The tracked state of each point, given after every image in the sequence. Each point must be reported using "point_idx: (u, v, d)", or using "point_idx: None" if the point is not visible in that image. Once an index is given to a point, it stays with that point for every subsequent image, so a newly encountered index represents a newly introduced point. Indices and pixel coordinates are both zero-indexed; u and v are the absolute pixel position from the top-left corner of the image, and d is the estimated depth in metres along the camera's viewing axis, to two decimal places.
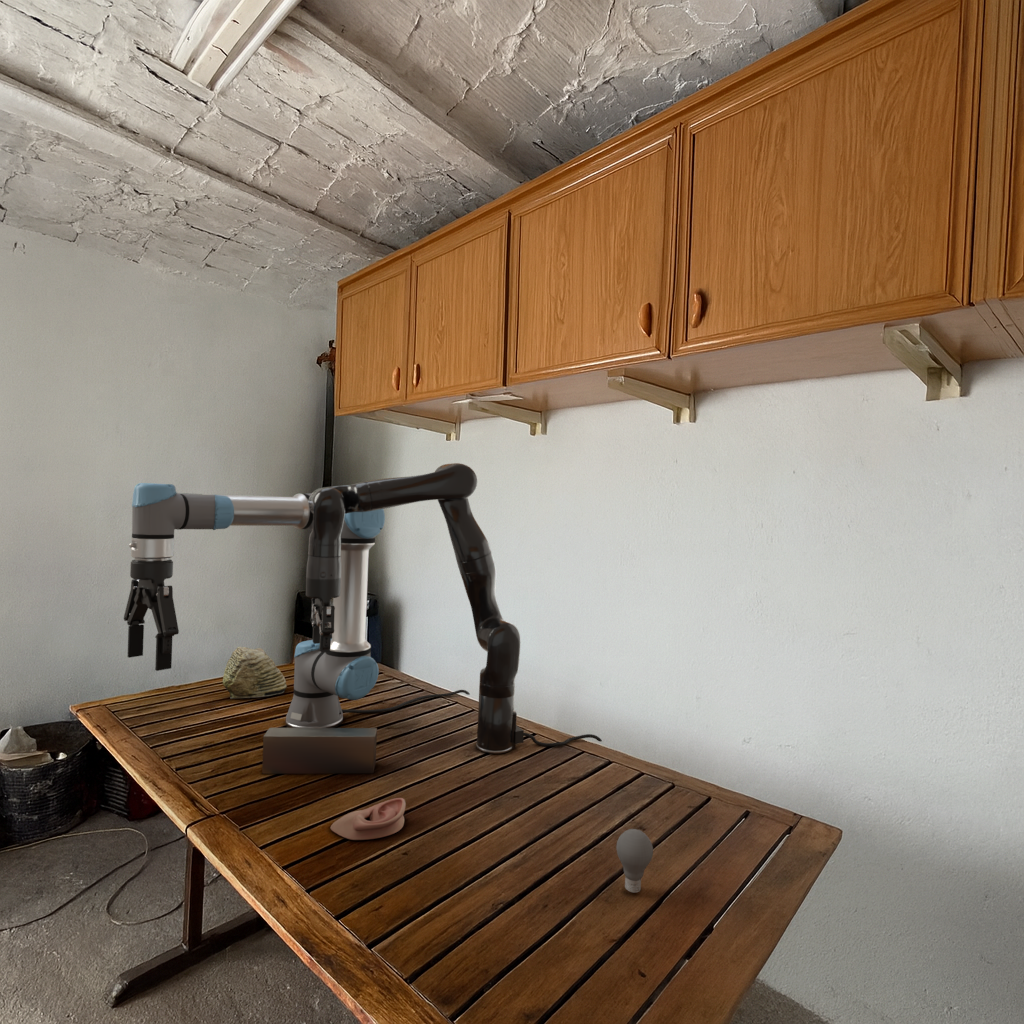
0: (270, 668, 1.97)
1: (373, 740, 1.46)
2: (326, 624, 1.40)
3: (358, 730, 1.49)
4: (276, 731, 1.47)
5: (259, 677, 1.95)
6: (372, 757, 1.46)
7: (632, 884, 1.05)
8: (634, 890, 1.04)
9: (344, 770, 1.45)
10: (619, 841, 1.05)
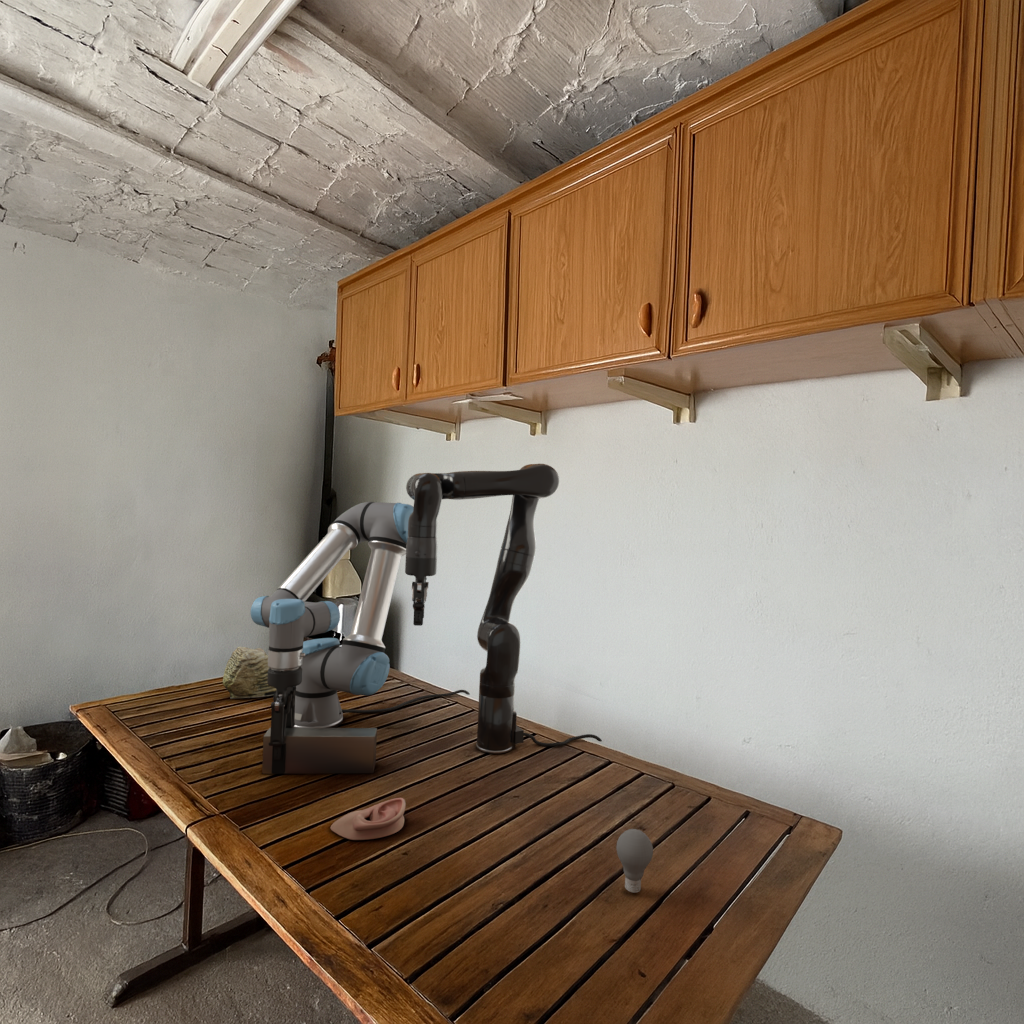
0: None
1: (373, 740, 1.46)
2: (420, 600, 1.50)
3: (358, 730, 1.49)
4: None
5: (259, 677, 1.95)
6: (372, 757, 1.46)
7: (632, 884, 1.05)
8: (634, 890, 1.04)
9: (344, 770, 1.45)
10: (619, 841, 1.05)
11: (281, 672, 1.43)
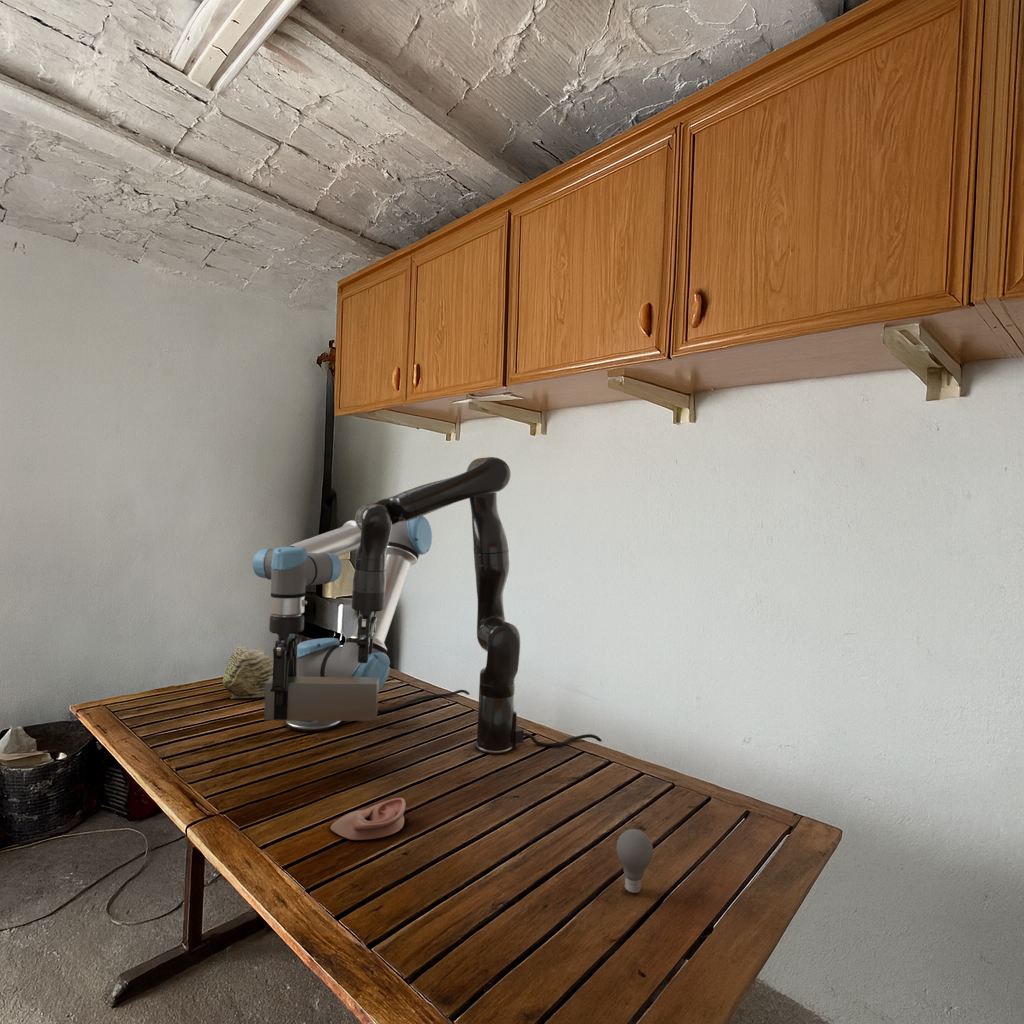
0: (270, 668, 1.97)
1: (375, 688, 1.46)
2: (365, 636, 1.44)
3: (360, 679, 1.49)
4: None
5: (259, 677, 1.95)
6: (374, 705, 1.46)
7: (632, 884, 1.05)
8: (634, 890, 1.04)
9: (346, 717, 1.45)
10: (619, 841, 1.05)
11: (283, 618, 1.43)
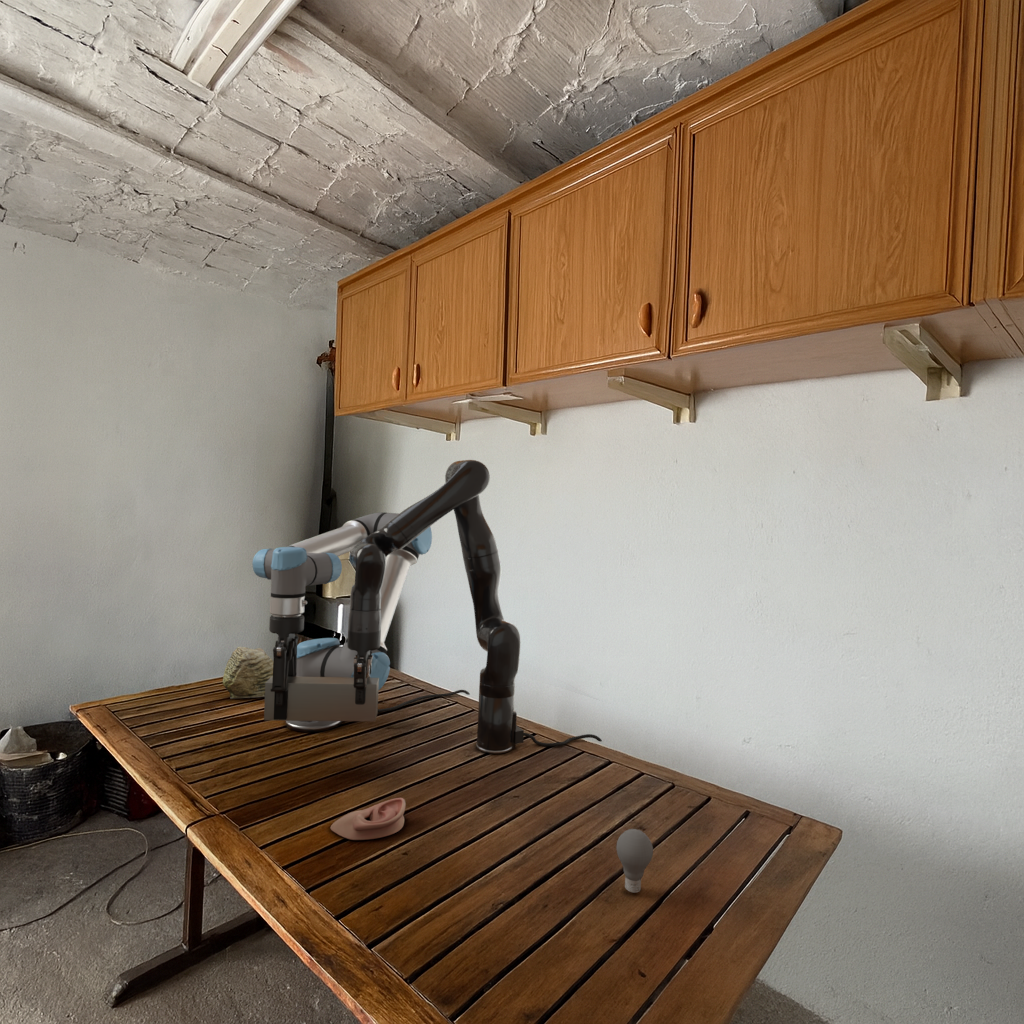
0: (270, 668, 1.97)
1: (375, 688, 1.46)
2: None
3: (359, 679, 1.49)
4: None
5: (259, 677, 1.95)
6: (374, 705, 1.46)
7: (632, 884, 1.05)
8: (634, 890, 1.04)
9: (345, 717, 1.45)
10: (619, 841, 1.05)
11: (283, 618, 1.43)
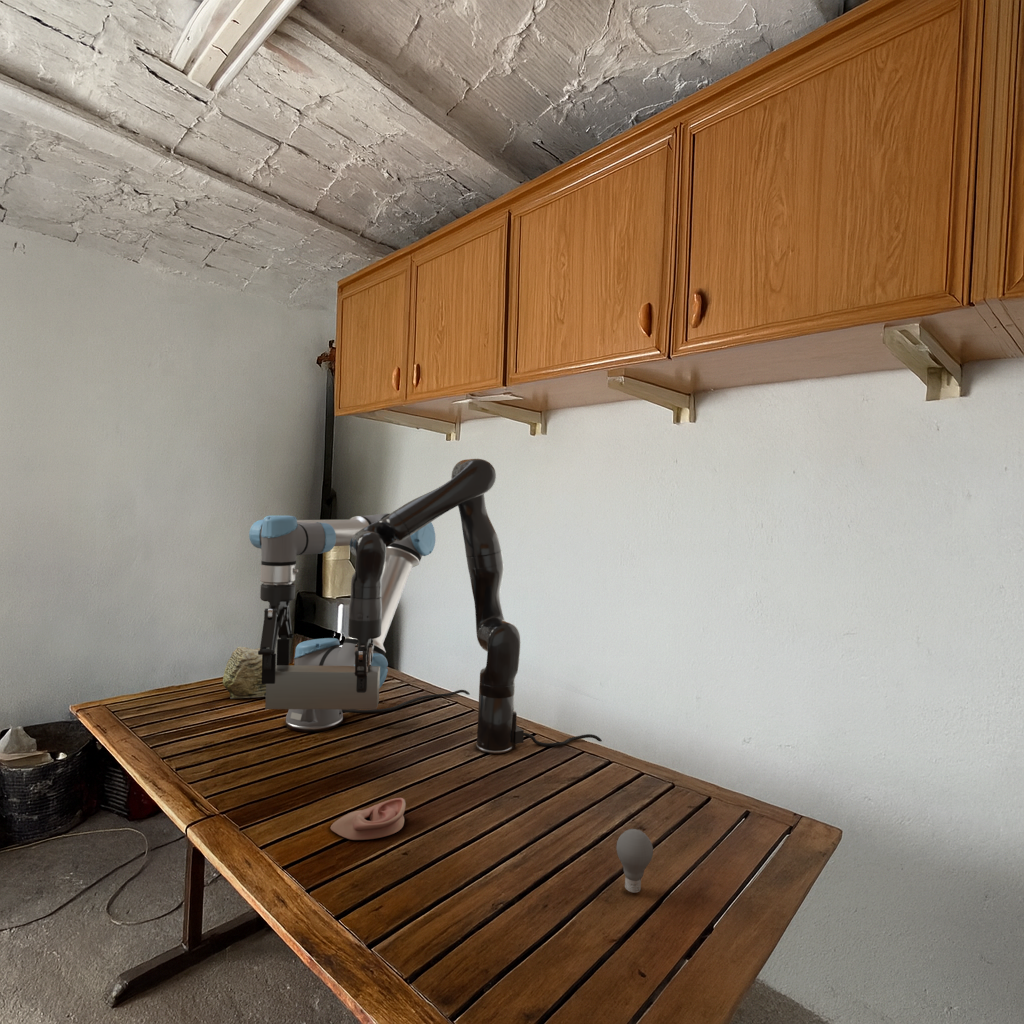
0: None
1: (376, 676, 1.46)
2: None
3: (361, 668, 1.49)
4: (279, 667, 1.46)
5: (259, 677, 1.95)
6: (375, 693, 1.46)
7: (632, 884, 1.05)
8: (634, 890, 1.04)
9: (347, 705, 1.45)
10: (619, 841, 1.05)
11: (275, 586, 1.42)
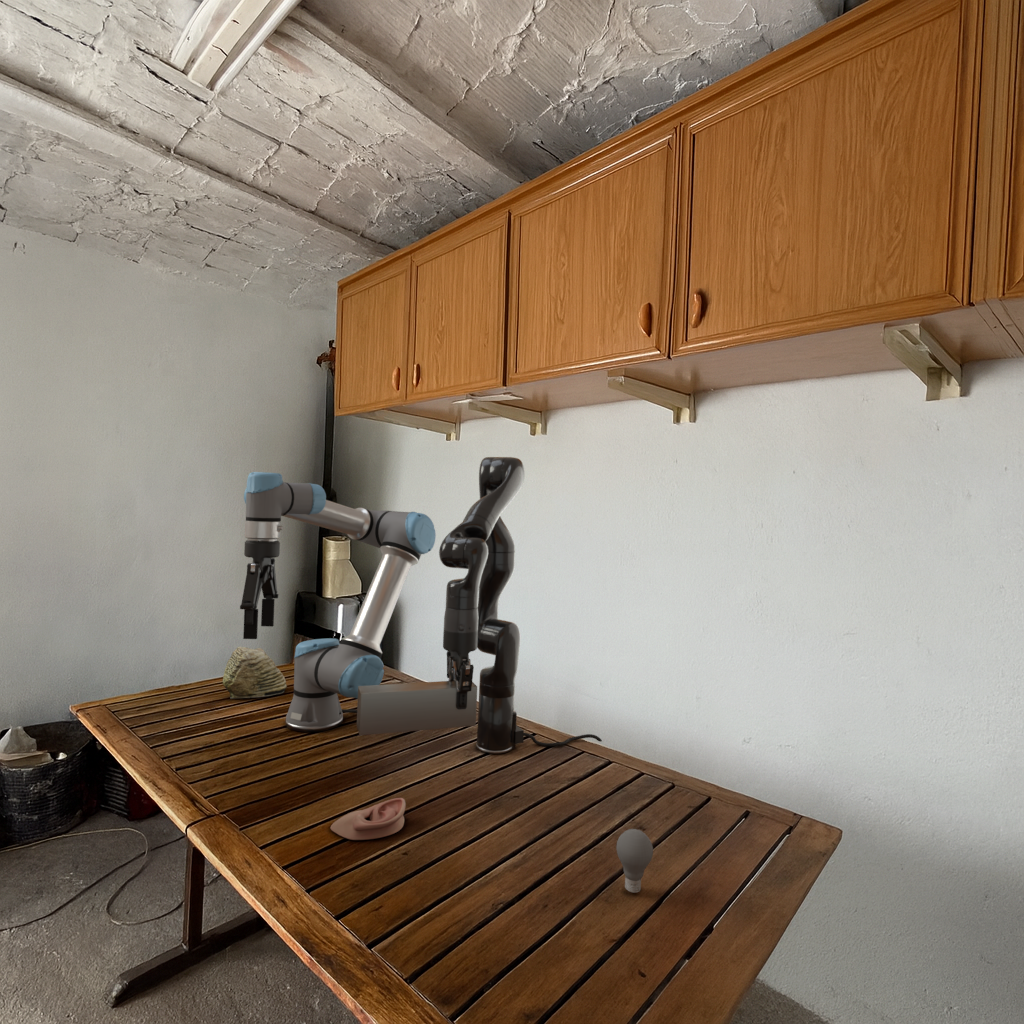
0: (270, 668, 1.97)
1: (476, 690, 1.37)
2: None
3: (454, 683, 1.39)
4: (369, 688, 1.33)
5: (259, 677, 1.95)
6: (475, 709, 1.37)
7: (632, 884, 1.05)
8: (634, 890, 1.04)
9: (446, 724, 1.35)
10: (619, 841, 1.05)
11: (258, 541, 1.42)
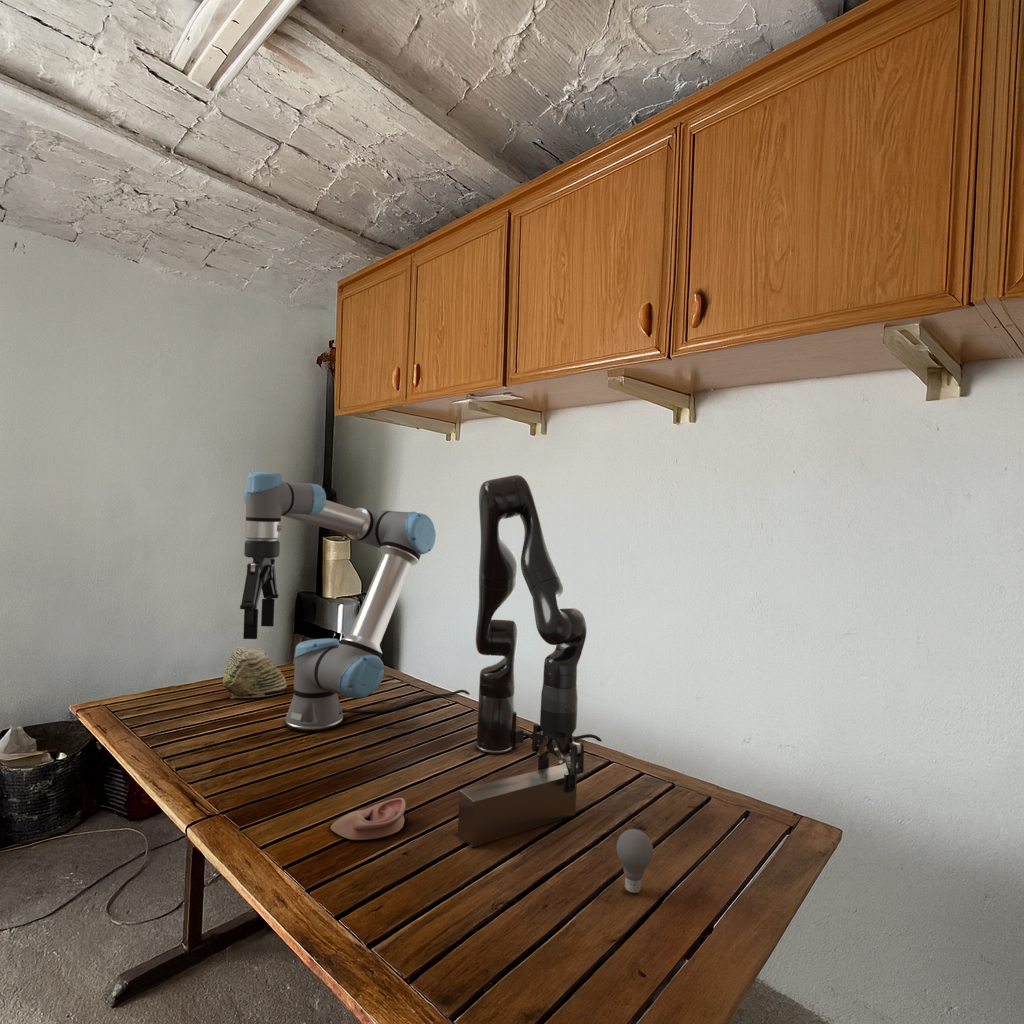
0: (270, 668, 1.97)
1: (576, 778, 1.30)
2: (569, 761, 1.28)
3: (550, 771, 1.31)
4: (474, 792, 1.20)
5: (259, 677, 1.95)
6: (575, 797, 1.30)
7: (632, 884, 1.05)
8: (634, 890, 1.04)
9: (550, 819, 1.27)
10: (619, 841, 1.05)
11: (258, 541, 1.42)
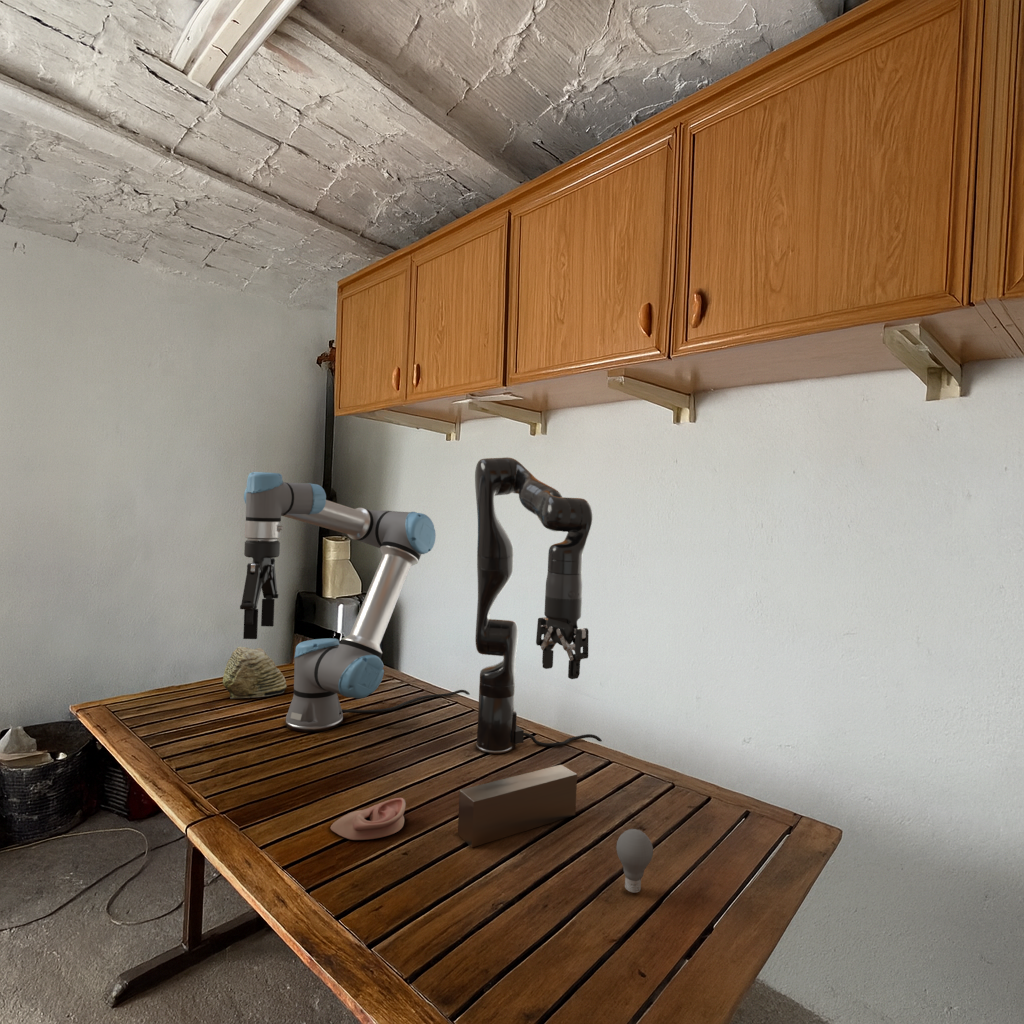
0: (270, 668, 1.97)
1: (576, 778, 1.30)
2: (573, 648, 1.27)
3: (550, 771, 1.31)
4: (474, 792, 1.20)
5: (259, 677, 1.95)
6: (575, 797, 1.30)
7: (632, 884, 1.05)
8: (634, 890, 1.04)
9: (550, 819, 1.27)
10: (619, 841, 1.05)
11: (258, 541, 1.42)
